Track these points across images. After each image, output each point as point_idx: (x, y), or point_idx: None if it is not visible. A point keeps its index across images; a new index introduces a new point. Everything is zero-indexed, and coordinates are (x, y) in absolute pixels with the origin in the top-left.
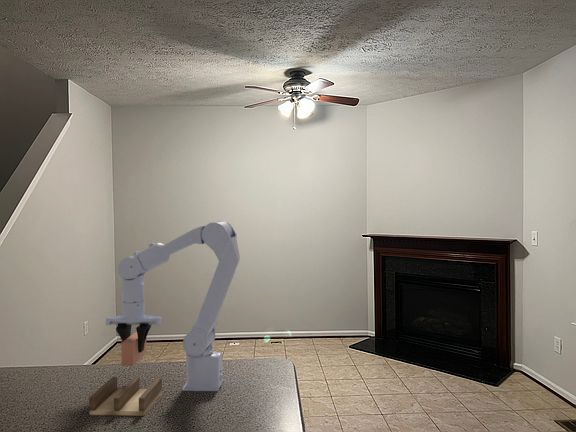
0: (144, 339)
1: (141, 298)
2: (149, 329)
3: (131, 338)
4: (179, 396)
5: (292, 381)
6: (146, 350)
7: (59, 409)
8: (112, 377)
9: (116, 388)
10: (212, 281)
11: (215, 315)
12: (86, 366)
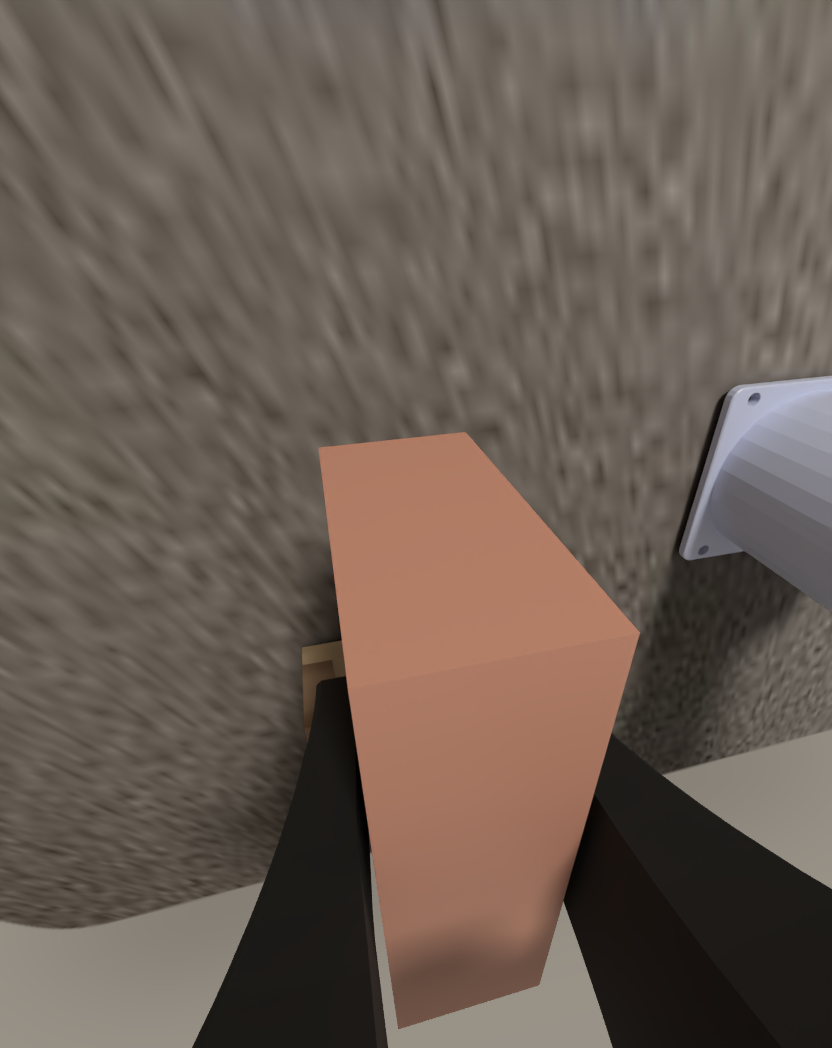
0: (605, 759)
1: None
2: (826, 892)
3: (461, 933)
4: (663, 601)
5: None
6: (478, 450)
7: (152, 816)
8: (307, 733)
9: (334, 675)
10: None
11: None
12: None
